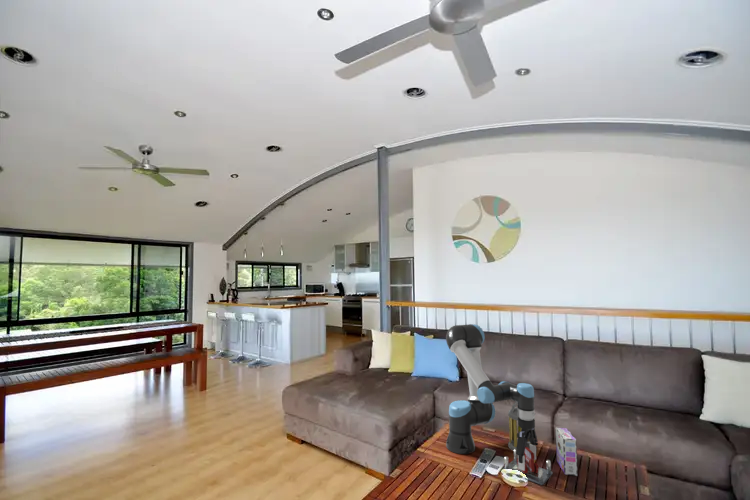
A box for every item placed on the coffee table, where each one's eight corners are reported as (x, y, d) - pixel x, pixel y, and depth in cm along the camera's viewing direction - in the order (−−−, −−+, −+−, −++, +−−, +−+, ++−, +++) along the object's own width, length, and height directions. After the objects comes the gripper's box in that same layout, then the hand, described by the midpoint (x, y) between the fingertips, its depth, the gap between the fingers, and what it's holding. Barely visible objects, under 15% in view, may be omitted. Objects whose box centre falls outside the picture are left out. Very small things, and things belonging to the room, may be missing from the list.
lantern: (527, 441, 206) (525, 395, 208) (541, 453, 192) (540, 404, 194) (503, 442, 204) (502, 396, 206) (516, 455, 190) (515, 405, 192)
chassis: (503, 470, 175) (503, 457, 175) (514, 460, 184) (514, 448, 185) (542, 485, 163) (542, 471, 163) (552, 474, 172) (552, 460, 172)
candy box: (578, 476, 170) (576, 439, 171) (564, 475, 171) (563, 438, 172) (568, 461, 184) (567, 427, 185) (556, 460, 185) (554, 426, 186)
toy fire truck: (528, 462, 180) (528, 440, 181) (541, 476, 168) (540, 452, 168) (514, 463, 180) (514, 441, 180) (526, 476, 167) (525, 453, 168)
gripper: (523, 427, 164) (524, 477, 162) (543, 412, 182) (545, 457, 180) (507, 423, 169) (508, 471, 167) (528, 409, 187) (529, 452, 185)
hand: (527, 464), depth 174 cm, fingers open, 13 cm apart
